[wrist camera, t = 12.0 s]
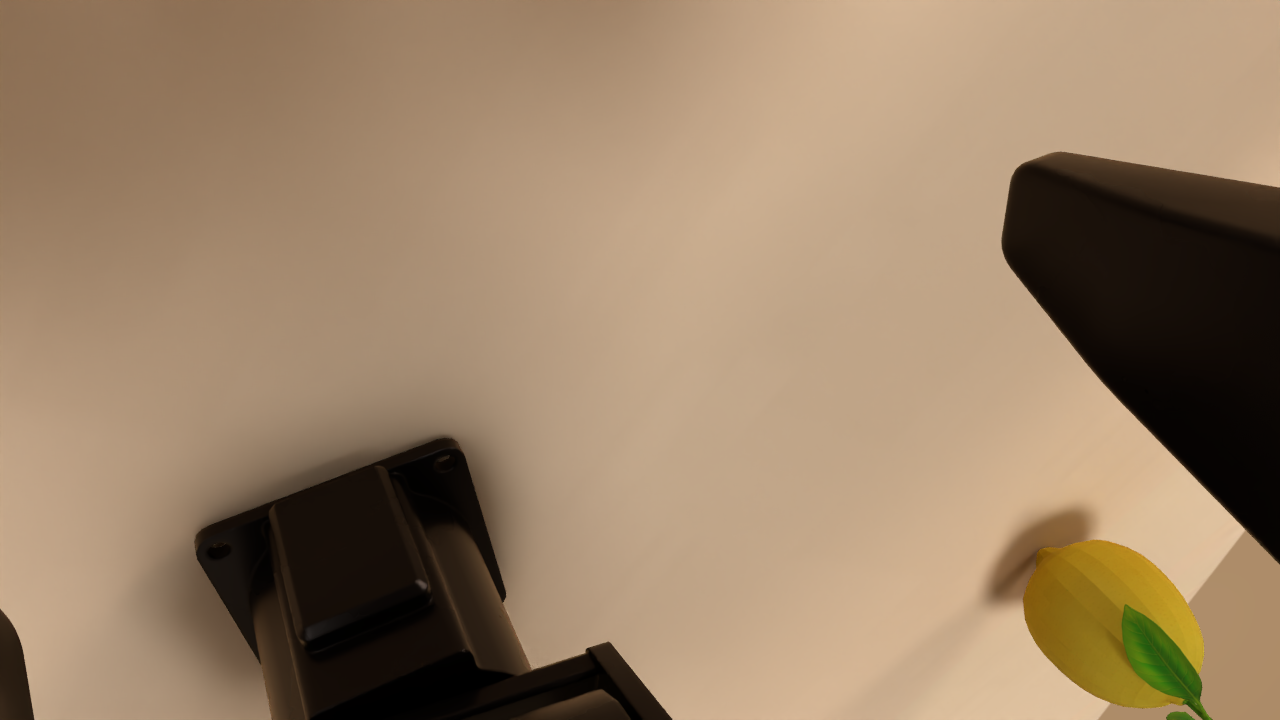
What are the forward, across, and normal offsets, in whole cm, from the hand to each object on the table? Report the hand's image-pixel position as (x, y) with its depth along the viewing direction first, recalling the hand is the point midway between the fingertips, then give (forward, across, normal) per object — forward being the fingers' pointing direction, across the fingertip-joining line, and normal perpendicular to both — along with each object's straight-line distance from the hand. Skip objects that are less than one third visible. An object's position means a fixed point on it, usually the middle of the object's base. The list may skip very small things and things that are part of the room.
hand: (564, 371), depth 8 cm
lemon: (+13, -22, +30) cm, 39 cm away
